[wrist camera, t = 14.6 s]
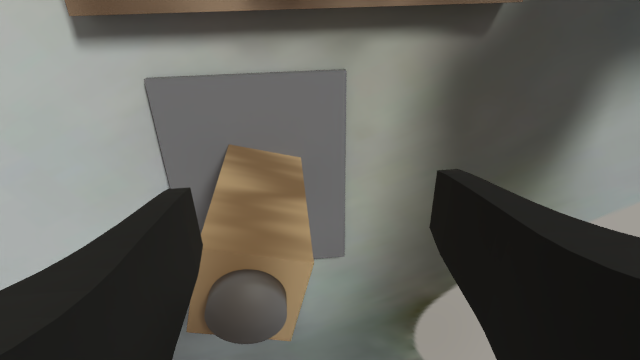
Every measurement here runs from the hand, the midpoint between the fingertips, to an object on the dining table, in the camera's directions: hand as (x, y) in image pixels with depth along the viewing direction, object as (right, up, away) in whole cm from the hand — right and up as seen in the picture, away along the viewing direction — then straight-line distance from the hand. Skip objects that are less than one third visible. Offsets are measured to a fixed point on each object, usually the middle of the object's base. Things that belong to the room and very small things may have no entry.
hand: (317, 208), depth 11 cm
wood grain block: (-3, +1, +10) cm, 11 cm away
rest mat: (-3, +1, +11) cm, 11 cm away
